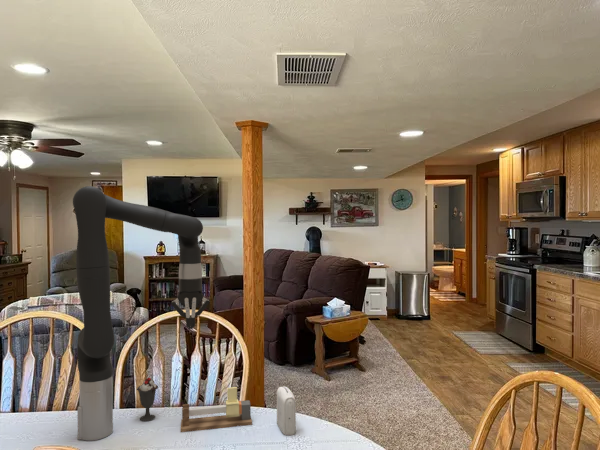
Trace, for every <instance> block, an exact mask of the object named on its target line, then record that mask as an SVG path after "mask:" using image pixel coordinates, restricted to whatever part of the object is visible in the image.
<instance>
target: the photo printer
mask: <svg viewBox="0 0 600 450" xmlns="http://www.w3.org/2000/svg"><path fill="white" fill-rule="evenodd" d="M296 403H297V402H296V398H295V395H294V393H293V392H292V391H291V390H290V388H289V387H287V386H284V385H283V386H279V387H278V388H277V390H276V424H277V425H278V428H279V429H280V431H281V433H282V434H283V435H285V436H293V435H295V434H296V423H297V421H296V418H297V417H296V414H297V412H296V411H297V409H296V408H297V406H296V405H297V404H296Z"/></svg>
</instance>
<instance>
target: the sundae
mask: <svg viewBox="0 0 600 450" xmlns="http://www.w3.org/2000/svg"><path fill="white" fill-rule="evenodd" d="M148 376H149V374H146V376H145V379H144V380H143V382H142V384H141V385H139V386H138V387H137V388H136V391H138V395H139V401H140V405H141V406H142V408H144V409H145V414H144V415H143V416H141V417H139V421H140V422H151V421H153V420H155V419H156V416H155V415H154V414H151V412H150V409H151V407H152V406H153V405H154V404H155V397H156V392H157V391H156V390H157V389H159V386H158V385H157V384H156V383H155V380H154V379H152V378H151V377H148Z"/></svg>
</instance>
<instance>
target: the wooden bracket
mask: <svg viewBox="0 0 600 450" xmlns="http://www.w3.org/2000/svg"><path fill="white" fill-rule="evenodd" d="M189 408H190V403H185V404H184V403H183V404H182V409H181V411H182V412H181V413H182V414H181V416H182V417H181V418H182V419H181V422H180V433H185V432H186V433H187V432H188V433H189V432H197V431H205V430H215V429H223V428H224V429H225V428H233V427H235V428H236V427H245V426H252V425H253V419H252V418H251V419H250V420H242V419H241V414H239V416H236V417H226V414H223V415H221V414H220V415H213V416H204V417H203V416H201V417H194V418H190V416H189Z"/></svg>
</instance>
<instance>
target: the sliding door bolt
mask: <svg viewBox="0 0 600 450" xmlns="http://www.w3.org/2000/svg"><path fill="white" fill-rule="evenodd" d="M238 401H239V414H241V419H242V420H250V419H252V417H251V413H252V412H251V401H250V400H249V399H248V400H238ZM215 414H217V415H218V414H226V404H220V405H209V406H208V405H207V406H200V407H199V406H198V407H189V417H194V416H195V417H197V416H203V415H204V416H206V415H215Z"/></svg>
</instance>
